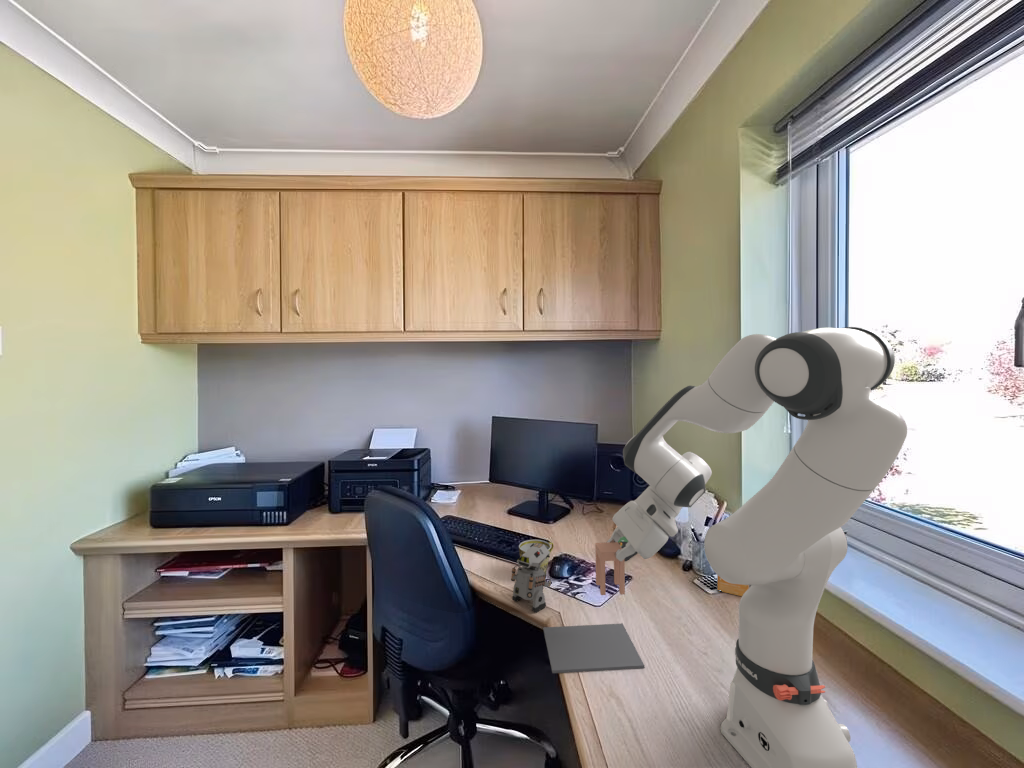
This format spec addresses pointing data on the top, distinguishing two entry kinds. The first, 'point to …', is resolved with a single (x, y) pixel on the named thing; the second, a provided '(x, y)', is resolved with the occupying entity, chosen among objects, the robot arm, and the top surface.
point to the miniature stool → (604, 554)
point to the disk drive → (622, 543)
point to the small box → (731, 587)
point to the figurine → (531, 576)
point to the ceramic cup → (526, 545)
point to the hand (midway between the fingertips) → (613, 551)
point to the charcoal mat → (590, 648)
